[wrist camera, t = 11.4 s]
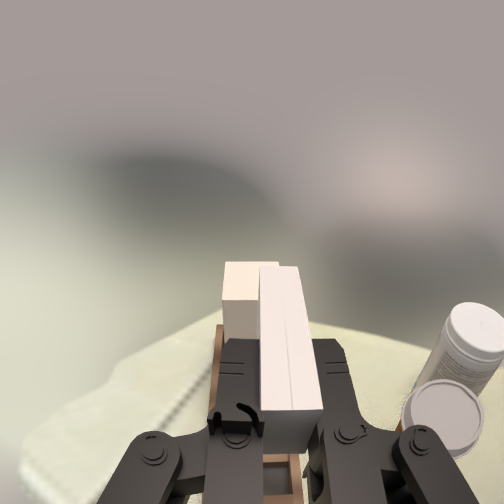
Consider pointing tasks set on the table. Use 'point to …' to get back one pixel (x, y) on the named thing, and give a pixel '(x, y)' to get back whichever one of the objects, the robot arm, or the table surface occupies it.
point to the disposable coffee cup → (445, 414)
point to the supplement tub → (467, 348)
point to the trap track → (274, 465)
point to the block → (241, 299)
